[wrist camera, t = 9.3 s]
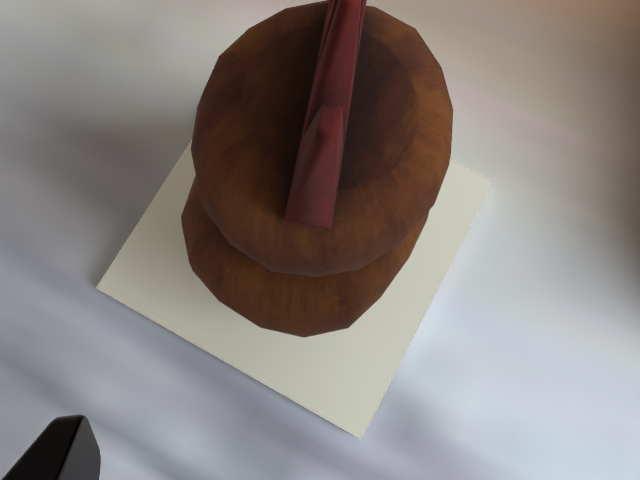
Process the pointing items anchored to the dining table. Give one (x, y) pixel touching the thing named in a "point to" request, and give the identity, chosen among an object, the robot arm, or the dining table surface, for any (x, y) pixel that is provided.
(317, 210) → the wooden figurine
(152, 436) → the dining table surface
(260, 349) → the board
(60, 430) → the robot arm
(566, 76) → the dining table surface
